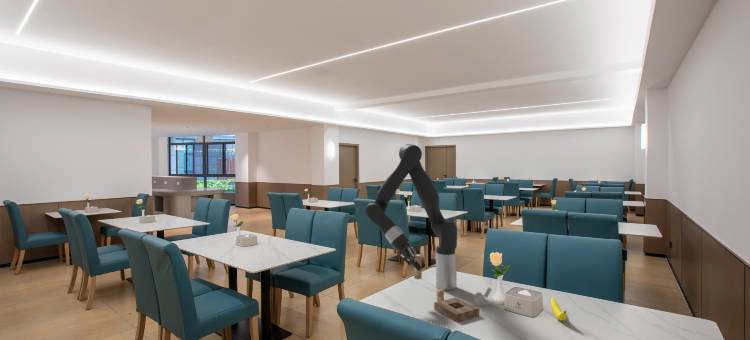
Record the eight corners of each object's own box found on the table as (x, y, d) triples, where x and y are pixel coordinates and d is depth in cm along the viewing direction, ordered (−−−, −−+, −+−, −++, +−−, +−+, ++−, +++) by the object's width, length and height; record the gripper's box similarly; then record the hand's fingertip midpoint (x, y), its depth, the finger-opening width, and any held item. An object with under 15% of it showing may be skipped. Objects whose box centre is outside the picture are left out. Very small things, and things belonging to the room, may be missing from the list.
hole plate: (455, 304, 164) (455, 297, 164) (479, 315, 152) (479, 308, 151) (434, 309, 158) (434, 302, 158) (456, 322, 146) (456, 314, 146)
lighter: (474, 305, 162) (474, 287, 162) (474, 303, 164) (474, 285, 164) (491, 307, 160) (491, 288, 160) (491, 305, 162) (491, 287, 162)
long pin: (418, 276, 167) (418, 254, 166) (423, 278, 164) (422, 255, 164) (412, 277, 165) (412, 255, 165) (417, 279, 162) (416, 256, 162)
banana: (556, 308, 158) (556, 293, 158) (569, 328, 140) (569, 311, 140) (548, 307, 159) (548, 293, 159) (560, 327, 140) (561, 311, 140)
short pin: (440, 298, 171) (440, 288, 170) (445, 300, 168) (445, 290, 168) (435, 299, 169) (435, 289, 169) (439, 302, 166) (439, 292, 166)
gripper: (394, 235, 162) (421, 267, 156) (409, 230, 174) (433, 259, 168) (384, 246, 165) (409, 278, 159) (399, 240, 177) (423, 269, 171)
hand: (422, 268), depth 163 cm, fingers closed on long pin, 3 cm apart
